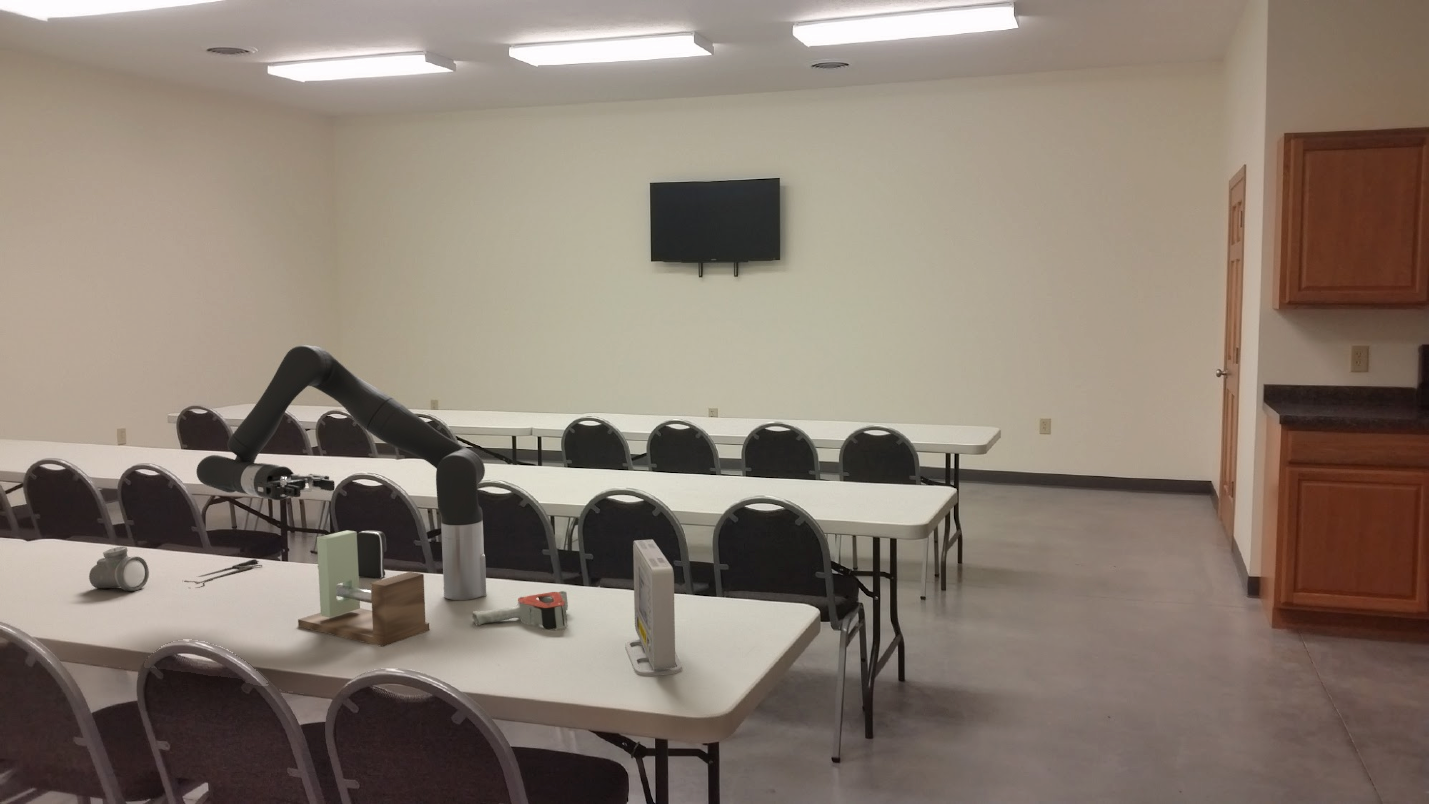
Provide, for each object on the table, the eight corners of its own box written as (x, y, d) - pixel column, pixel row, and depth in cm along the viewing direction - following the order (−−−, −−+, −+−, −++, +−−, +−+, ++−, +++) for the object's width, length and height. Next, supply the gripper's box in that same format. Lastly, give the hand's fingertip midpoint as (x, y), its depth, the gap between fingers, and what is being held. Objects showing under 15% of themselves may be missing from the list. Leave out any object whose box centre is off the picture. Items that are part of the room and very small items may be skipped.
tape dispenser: (467, 632, 221) (539, 642, 210) (464, 608, 220) (536, 616, 209) (524, 607, 236) (595, 614, 225) (522, 584, 235) (592, 590, 224)
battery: (389, 575, 261) (387, 530, 259) (380, 579, 257) (378, 533, 256) (365, 573, 263) (363, 528, 262) (356, 577, 259) (354, 531, 258)
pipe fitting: (154, 583, 254) (144, 543, 252) (127, 595, 246) (117, 553, 245) (115, 586, 257) (105, 545, 256) (87, 597, 250) (77, 556, 248)
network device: (688, 679, 187) (686, 568, 185) (639, 683, 185) (637, 572, 183) (664, 635, 212) (662, 537, 210) (621, 638, 210) (619, 539, 208)
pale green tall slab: (320, 615, 220) (316, 537, 218) (350, 606, 226) (347, 530, 224) (330, 617, 218) (326, 538, 216) (360, 608, 224) (356, 531, 223)
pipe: (321, 596, 223) (321, 583, 222) (333, 593, 225) (332, 579, 225) (393, 611, 211) (392, 597, 211) (404, 608, 213) (403, 594, 213)
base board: (298, 626, 220) (295, 570, 219) (345, 611, 230) (343, 557, 229) (383, 646, 207) (380, 586, 205) (429, 630, 217) (427, 573, 216)
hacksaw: (255, 563, 276) (255, 557, 276) (281, 568, 271) (280, 562, 271) (168, 585, 256) (167, 579, 256) (193, 591, 251) (193, 584, 250)
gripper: (237, 468, 224) (286, 476, 216) (295, 460, 237) (343, 466, 228) (239, 503, 225) (287, 512, 217) (296, 493, 237) (344, 500, 229)
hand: (316, 488), depth 223 cm, fingers open, 8 cm apart
